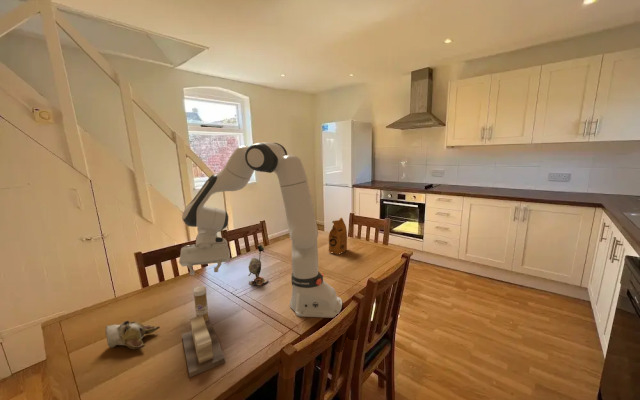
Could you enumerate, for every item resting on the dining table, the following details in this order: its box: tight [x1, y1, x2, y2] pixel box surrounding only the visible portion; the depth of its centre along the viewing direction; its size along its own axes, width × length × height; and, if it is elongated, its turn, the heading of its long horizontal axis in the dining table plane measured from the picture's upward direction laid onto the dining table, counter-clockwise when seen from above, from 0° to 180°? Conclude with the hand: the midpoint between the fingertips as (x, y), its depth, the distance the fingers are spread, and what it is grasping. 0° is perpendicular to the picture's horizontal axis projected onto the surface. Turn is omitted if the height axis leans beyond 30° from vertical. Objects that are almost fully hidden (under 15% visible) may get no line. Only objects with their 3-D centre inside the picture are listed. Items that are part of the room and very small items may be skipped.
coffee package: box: [328, 217, 348, 255], centre depth 168 cm, size 10×12×22 cm
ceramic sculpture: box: [105, 320, 160, 350], centre depth 88 cm, size 11×9×15 cm
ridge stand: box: [181, 315, 226, 378], centre depth 84 cm, size 20×10×8 cm, turn 34°
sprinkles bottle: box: [192, 285, 210, 323], centre depth 99 cm, size 5×5×13 cm
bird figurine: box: [248, 244, 269, 286], centre depth 128 cm, size 8×11×20 cm
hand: (204, 273), depth 107 cm, fingers open, 8 cm apart
